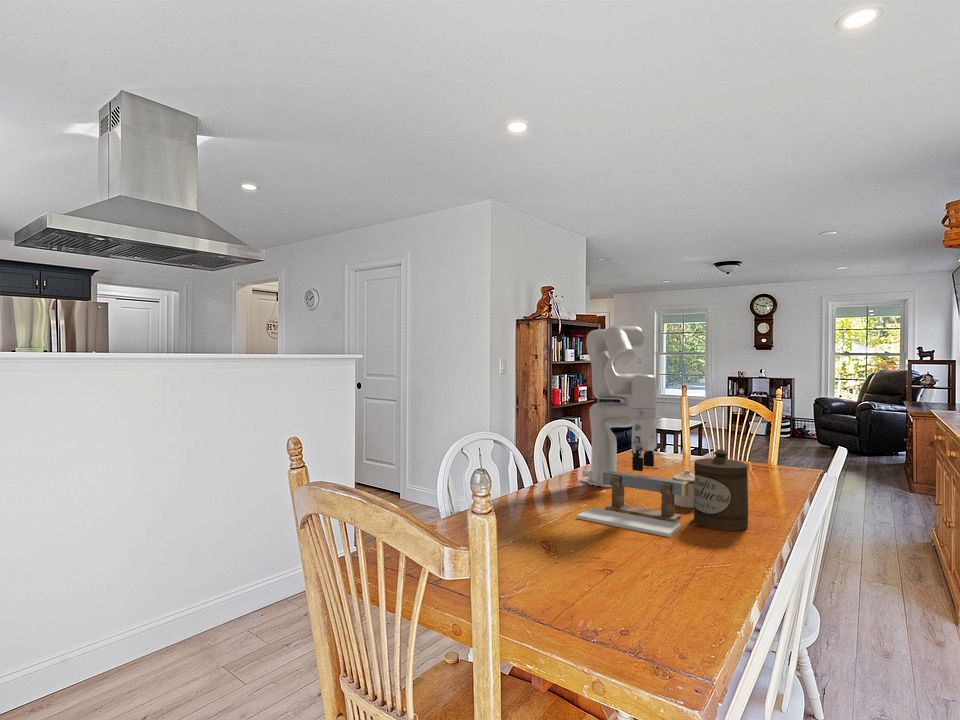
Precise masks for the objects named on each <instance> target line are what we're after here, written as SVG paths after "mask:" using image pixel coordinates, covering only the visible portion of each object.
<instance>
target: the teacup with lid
mask: <svg viewBox="0 0 960 720" xmlns="http://www.w3.org/2000/svg"><path fill="white" fill-rule="evenodd" d="M672 480H677V481H684V482H689V494H688V495H686V496H680V495H674V506H677V507H679V506H680V508H684V507H685V509H694V482H695V473H692V472H691V470H690V469H684V470H683V472H681V473H679V474H675V475H673V477H672Z"/></svg>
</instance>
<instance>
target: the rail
mask: <svg viewBox="0 0 960 720" xmlns="http://www.w3.org/2000/svg"><path fill="white" fill-rule="evenodd" d="M610 476H617V477H620V486H622V487H624V488H630V489H637V490H642V491H643V490H644V491H648V492H655V493H660V483H665V484H671V494H673V495H680V496H686V495H688V494H689V482H684V481H677V480H673V479H669V478H663V477H662V478H661V477H654V476H647V475H642V474H641V475H640V474H635V473H634V474H633V473H625V472H619V471H616V472H614V471H606V470H604V471H601V472H600V483H603V484H610Z"/></svg>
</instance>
